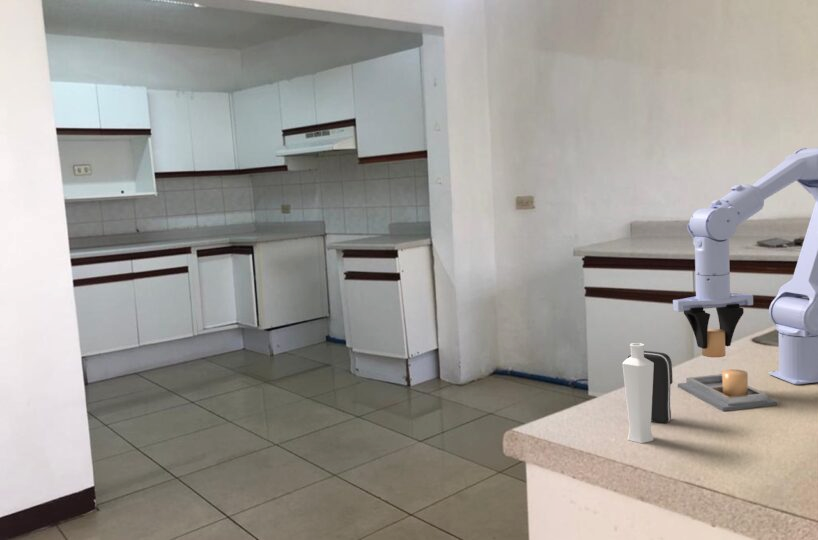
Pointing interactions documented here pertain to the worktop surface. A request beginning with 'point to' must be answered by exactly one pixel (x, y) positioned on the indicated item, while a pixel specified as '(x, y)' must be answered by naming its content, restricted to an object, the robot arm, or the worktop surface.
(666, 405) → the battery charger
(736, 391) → the frame
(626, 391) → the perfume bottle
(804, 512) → the worktop surface
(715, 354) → the peach rounded capsule
